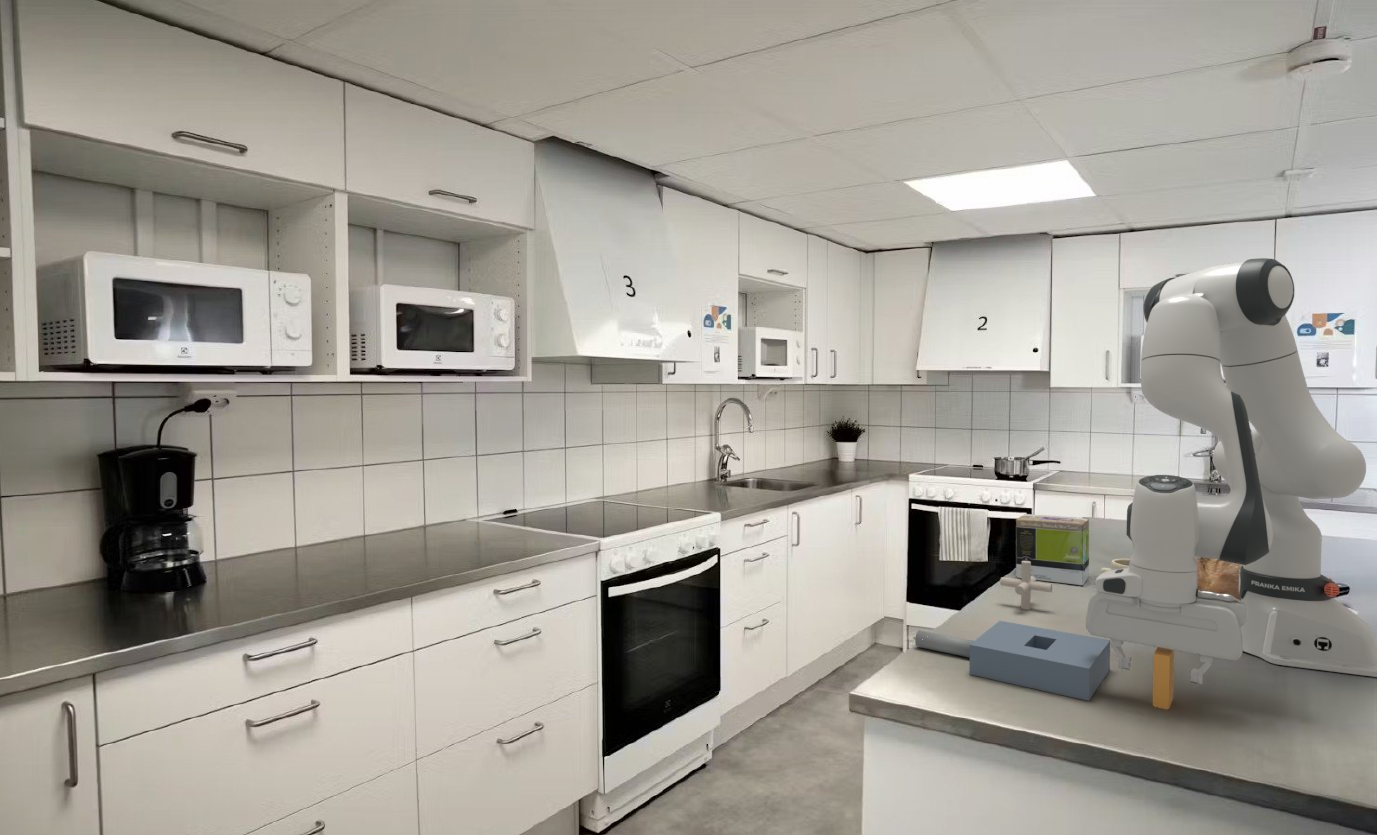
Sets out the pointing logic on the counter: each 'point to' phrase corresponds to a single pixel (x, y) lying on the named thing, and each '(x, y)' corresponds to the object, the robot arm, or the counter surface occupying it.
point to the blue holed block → (1031, 657)
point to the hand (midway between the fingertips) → (1159, 675)
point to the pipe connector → (1026, 585)
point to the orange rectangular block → (1163, 678)
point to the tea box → (1053, 547)
